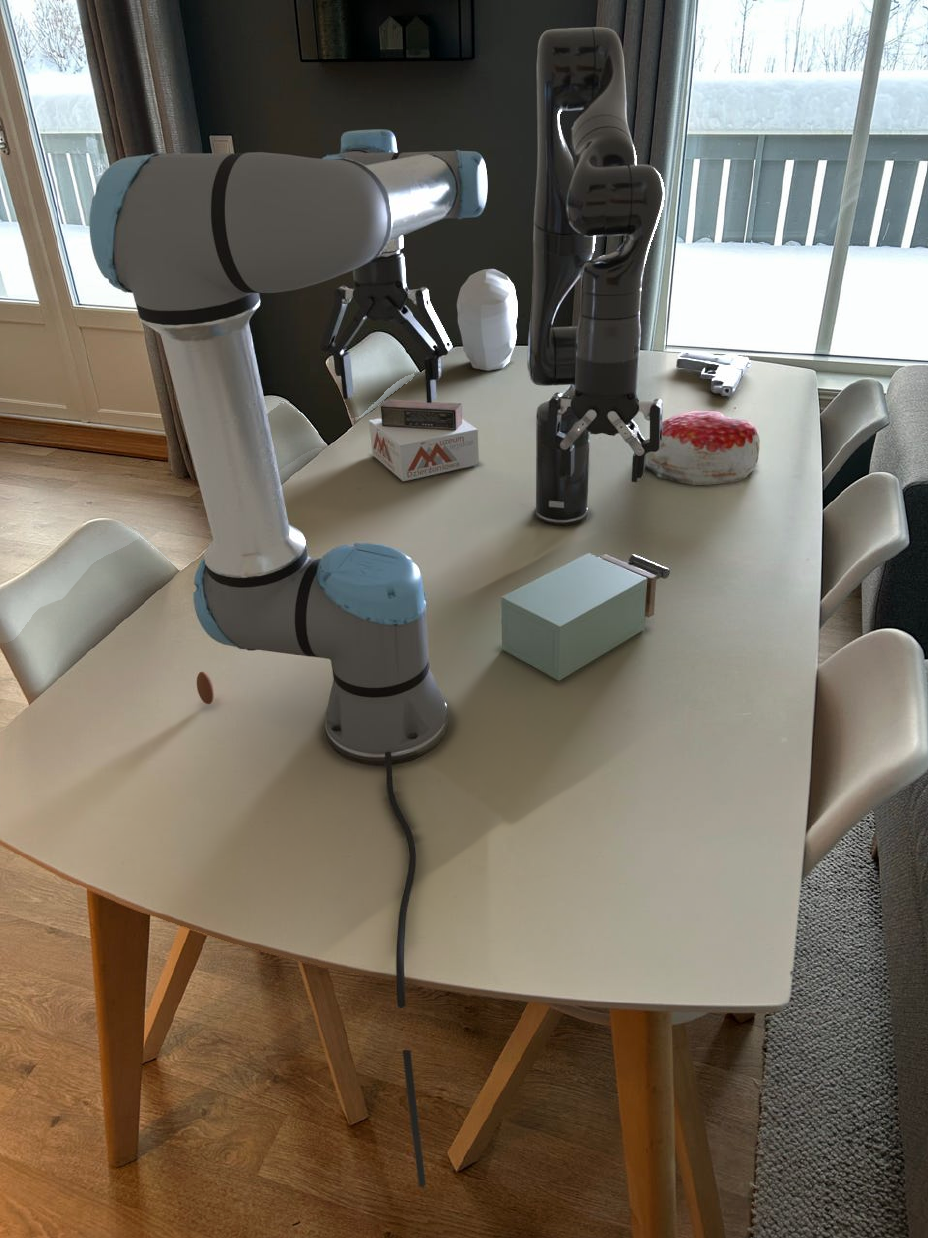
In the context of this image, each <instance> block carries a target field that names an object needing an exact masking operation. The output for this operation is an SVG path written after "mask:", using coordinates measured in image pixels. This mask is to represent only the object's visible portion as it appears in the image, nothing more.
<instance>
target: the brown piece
mask: <svg viewBox="0 0 928 1238" xmlns="http://www.w3.org/2000/svg"><path fill="white" fill-rule="evenodd" d="M196 689H197V694H198V695H199V698H200V700H201V701H202V702H203V703H204V704H206V705H210V704H211V703H212V702H213V701H214V699H215V688H214V683H213V680H212V679H211V677H210V675H209V674H208V673H207V672H206V671H200V672H199V673H198V674H197V677H196Z"/></svg>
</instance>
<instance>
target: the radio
mask: <svg viewBox="0 0 928 1238" xmlns="http://www.w3.org/2000/svg"><path fill="white" fill-rule="evenodd" d="M380 416H381V417H380V418H375V419H369V420H368V422H369V423H368V424H369V425H368V426H369V433H370V445H371V454H372V456H373V457H374V458H376V459H377V461H379V462H380V463H381V464H382V465H384V467H386V468H387V469H388V470H389V471H391V472H392V474H394V475H395V476H396V477H397V478H399V479H400V480H401V481H402V482H407V481H412V480H415V479H421V478H425V477H430V476H433V475H438V474H443V473H447V472H451V471H456V470H461V469H465V468H469V467H473V466H478V465H480V458H479V457H480V456H479V455H480V454H479V453H480V451H479V429H478V428H477V427H475V426H474V425H472V424H470V423H469V422H467V421H466V420H465V419H463V404H462V402H460V403H459V402H443V401H442V402H441V401H433V402H432V403H427V401H425V400H424V401H421V400H403V399H387V400H386V401H384V403H382V404H381V405H380Z"/></svg>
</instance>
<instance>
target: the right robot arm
mask: <svg viewBox="0 0 928 1238" xmlns="http://www.w3.org/2000/svg"><path fill="white" fill-rule="evenodd" d="M625 71H626V69H625V56H624V51H623V45H622V41H621V39H620V37H619V35H618V33H617V32H616V31H615V30H614V29H612V28H608V27H601V26H593V27H592V26H591V27H570V28H569V27H568V28H553V29H547V30H545V31H544V32H543V33H542V34H541V35H540V37H539V39H538V43H537V49H536V56H535V120H536V121H535V122H536V170H535V171H536V172H535V188H534V189H535V191H534V203H533V204H534V205H533V222H532V296H531V308H530V319H529V331H528V340H527V354H526V355H527V356H526V358H527V359H526V363H527V365H526V366H527V373H528V376H529V379H530V381H531V382H532V384H534V385H535V386H545V387H547V386H550V387H551V386H568V385H569V387H568V388H567V389H565V390H564V391H563V392H562V393H561V392H555V393H554V394H553V395H552V396H551V398H549V399H547V400H546V401H543V402H542V403H541V404H539V405H538V407H537V409H536V412H535V415H536V417H535V513H534V514H535V517H536V518H537V519H538V520H539V521H541V522H543V523H547V524H550V525H557V526H565V525H573V524H577V523H580V522H582V521H584V520H585V519H586V518H587V517H588V515H589V514H588V512H589V508H588V501H589V500H588V497H589V496H588V495H589V475H590V474H589V472H590V471H589V469H590V467H589V466H590V437H591V435H599V434H604V435H607V436H613V437H614V436H616V435H618V434H619V435H620V436H621V437H622V439H623V441H624V442H625V443H626V444H628V446H629V447H630V448H631V450H632V451H633V455H632V463H631V464H632V465H631V483H638V481H639V479H642V478H643V477H644V474H645V472H646V466H645V462H646V454H647V453H648V452H657V451H658V450H659V448H660V445H661V443H662V422H663V414H664V413H663V411H664V410H663V405H664V403H663V400H662V399H661V398H655V399H654V400H653V401H640V400H639V397H638V381H639V364H640V352H641V351H640V349H641V334H642V333H641V331H642V329H641V318H640V317H641V313H640V312H641V301H642V300H641V298H642V284H643V275H644V270H645V269H644V268H645V264H646V261H647V257H648V253H649V249H650V246H651V242H652V240H653V237H654V234H655V231H656V229H657V226H658V223H659V220H660V217H661V213H662V210H663V207H664V200H665V187H664V182H663V179H662V177H661V174H660V173H659V172H658V170H657V169H656V168H655V167H654V166H652V165H650V164H643V163H642V164H641V163H640V164H639V163H638V164H637V155H636V150H635V146H634V143H633V139H632V135H631V131H630V128H629V124H628V116H627V85H626V72H625ZM573 111H574V112H575V111H579V113H578V115H577V116H576V118H575V120H574V122H573V125H572V127H571V132H570V138H569V145H570V146H569V147H570V150H569V148H568V145H567V143H566V142H567V141H566V140H565V138H564V133H563V131H562V127H561V124H560V114H561V112H573ZM614 236H625V238H624V240H623V242H622V244H621V245H620V246H619V247H618V248H617V249H616V250H614V251H612V252H611V253H607V254H604V255H601V256H597V257H594V258H593V255H594V251H595V244H596V237H614ZM578 280H579V308H578V311H579V313H578V320H577V321H578V322H577V325H574V326H572V325H571V326H553V323H554V319H555V317H556V314H557V312H558V309H559V308H560V306H561V304H562V302H563V301H564V299H565V298H566V296H567V295H568V293H569V292H570V291H571V289H572V288H573V287H574V286H575V284H576V283H577V282H578ZM552 326H553V327H552ZM638 413H642V414H643V417H644V419H645V421H648V422H649V438H648V439H645V437H644V436H643V434H642V433H641V432H640V429H639V427H638V425H637V424H636V422H635V420H634V418H635V417H636V416H637V415H638Z"/></svg>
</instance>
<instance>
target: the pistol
mask: <svg viewBox="0 0 928 1238" xmlns="http://www.w3.org/2000/svg"><path fill="white" fill-rule="evenodd" d="M751 362H752V361H751V360H750V358H749V357H747V356H741V355H736V354H734V353H727V354H725V355H717V354H716V355H715V354H711V353H707V352H701V351H695V350H683V351H681V352H680V353H679V355H678V356H677V359H676V365H675V366H676V368H677V369H680V370H681V369H684V370H690V371H695V372H701V373H700V379H706V380H707V379H709V380H711V382H710V392H712V393H714V394H720V396H722V397H732V396H733V394H734V392H736V389H737V387H738V386H739V384H740V380H741V379H742V378H743V377H744V374H745V373H746V371H747V369H749V368H751Z"/></svg>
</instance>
